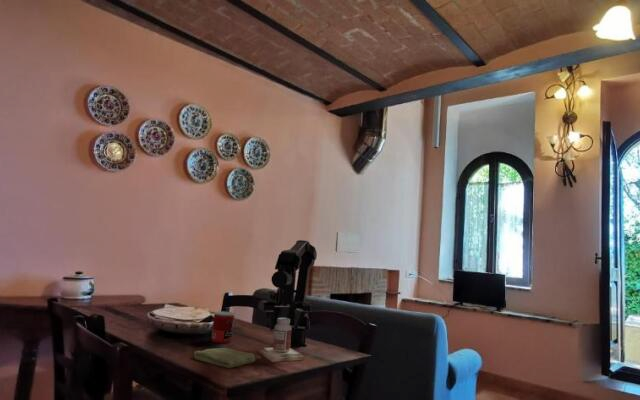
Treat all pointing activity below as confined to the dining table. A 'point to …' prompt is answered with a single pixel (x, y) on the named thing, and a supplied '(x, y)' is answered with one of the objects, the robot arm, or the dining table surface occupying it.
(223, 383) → the dining table surface
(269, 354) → the stand
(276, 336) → the pill bottle
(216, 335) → the canned food
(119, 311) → the dining table surface
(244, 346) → the dining table surface
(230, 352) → the washcloth
